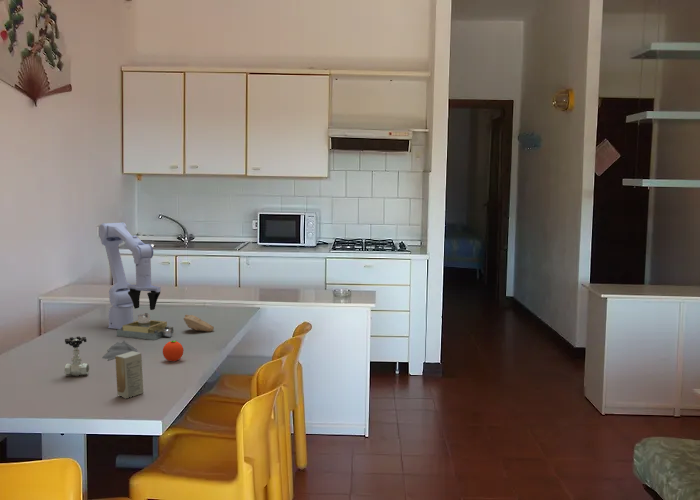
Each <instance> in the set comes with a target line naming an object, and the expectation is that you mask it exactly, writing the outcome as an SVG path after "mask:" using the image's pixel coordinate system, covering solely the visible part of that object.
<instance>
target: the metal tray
mask: <svg viewBox="0 0 700 500" xmlns="http://www.w3.org/2000/svg"><path fill="white" fill-rule="evenodd" d="M173 333H174V327H173V326H168V321H165V320H153V319H150V326H149V327H140V326H138V320H135V321H133V322H132V323H129V324H125V325H123V327H121V328H120V329H116V336H117V337H124V338H132V339H141V340H152V341H157V340H159V339H162V338H164V337H165V338H166V337H167V338H171V337H172V336H173V335H174V334H173Z"/></svg>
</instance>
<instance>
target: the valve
mask: <svg viewBox="0 0 700 500" xmlns="http://www.w3.org/2000/svg"><path fill="white" fill-rule="evenodd" d="M83 342H84V343H87V337H85V336H82V337H80V336H76V337H71V336H70V337H69V338H65V339H64V343H65V345H69V347H72V348H74V349H73V350H72V355H74V356H73V357H72V358H71V363H66V364H65V366H64V375H66V376H74V377H80V376H81V375H82V376H87V375H89V372H90V365H89V363H87V362H86V363H82V361H83V360H82V358H83V357H81V356H80V349H78V348H79V347H80V345H82V344H83ZM79 375H80V376H79Z"/></svg>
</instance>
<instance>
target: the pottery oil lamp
mask: <svg viewBox="0 0 700 500" xmlns="http://www.w3.org/2000/svg"><path fill="white" fill-rule="evenodd" d="M183 320H184V323H185V325H186V326H187V328H189V329H192V330H195V331H197V332H198V331H201V332H212V331H214V330H215V327H214V326H212V324H210V323H208V322H207V321H204V320H202V319H201V318H200V317H197V316H196V315H193V314H185V315H184V317H183Z"/></svg>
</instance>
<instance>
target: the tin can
mask: <svg viewBox="0 0 700 500" xmlns="http://www.w3.org/2000/svg"><path fill="white" fill-rule="evenodd" d="M150 320H151V314H150V313H148V312H145V313H140V314H138V315H137V321H138V326H140V327H149V326H150Z"/></svg>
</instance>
